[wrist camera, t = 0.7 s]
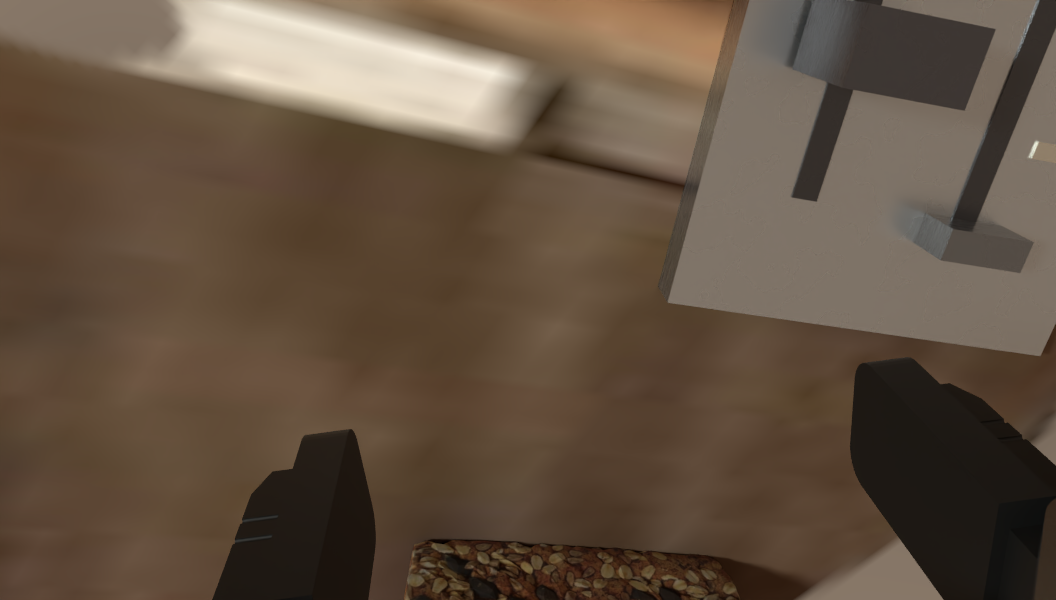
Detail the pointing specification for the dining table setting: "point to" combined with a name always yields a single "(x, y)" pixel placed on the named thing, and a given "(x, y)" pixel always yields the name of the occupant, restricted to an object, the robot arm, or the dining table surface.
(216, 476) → the dining table surface
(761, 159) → the console panel
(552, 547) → the bread
